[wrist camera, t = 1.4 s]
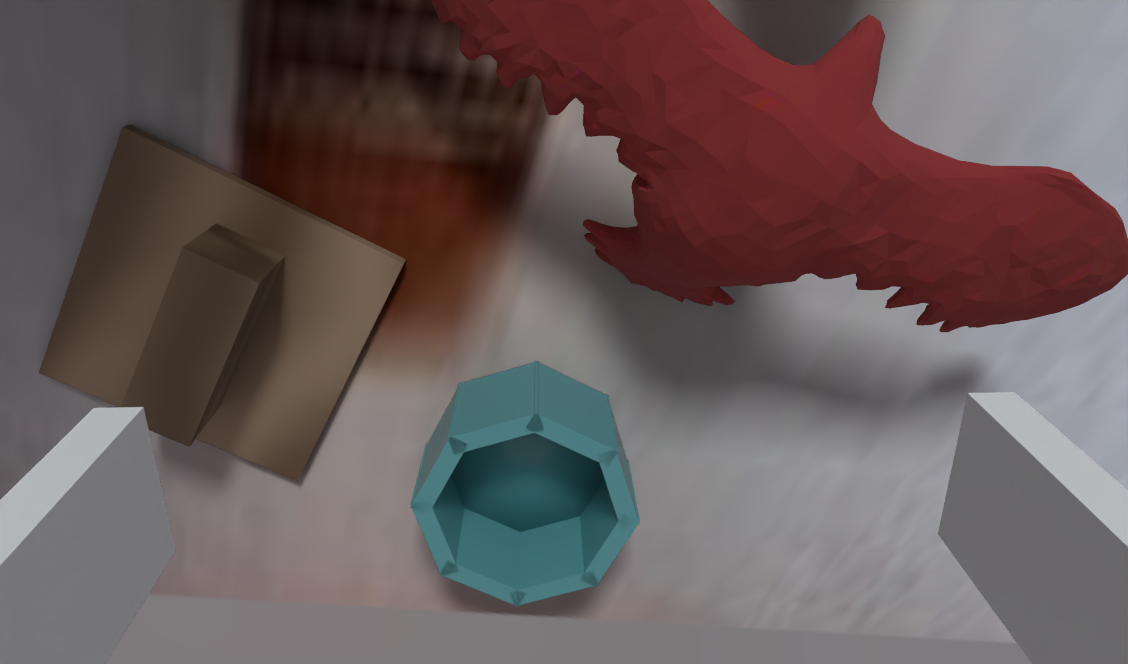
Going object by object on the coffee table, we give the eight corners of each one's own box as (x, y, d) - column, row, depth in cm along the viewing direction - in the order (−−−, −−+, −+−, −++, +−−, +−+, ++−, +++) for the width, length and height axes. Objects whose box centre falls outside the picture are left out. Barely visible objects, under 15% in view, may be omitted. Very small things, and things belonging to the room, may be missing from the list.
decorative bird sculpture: (911, 301, 42) (1232, 166, 28) (875, 471, 38) (1223, 408, 25) (395, 3, 36) (491, -346, 22) (294, 169, 32) (336, -128, 19)
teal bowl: (402, 487, 40) (383, 552, 35) (485, 335, 37) (477, 384, 32) (565, 558, 42) (568, 628, 37) (656, 418, 39) (672, 475, 34)
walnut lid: (53, 361, 38) (-10, 409, 33) (136, 122, 34) (77, 141, 30) (304, 467, 40) (275, 525, 36) (407, 255, 36) (390, 291, 32)
